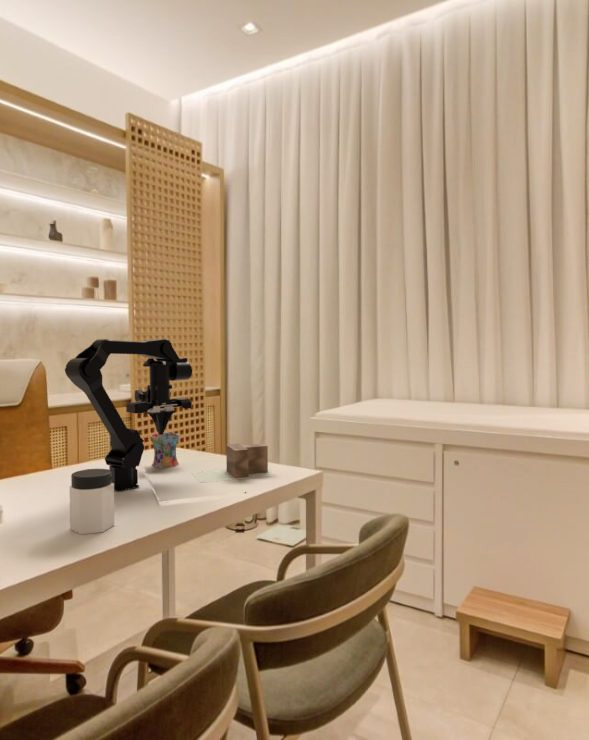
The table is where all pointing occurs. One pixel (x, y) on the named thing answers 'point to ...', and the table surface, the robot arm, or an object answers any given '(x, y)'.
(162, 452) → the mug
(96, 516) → the jar
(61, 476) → the table surface
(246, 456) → the t block
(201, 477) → the board
